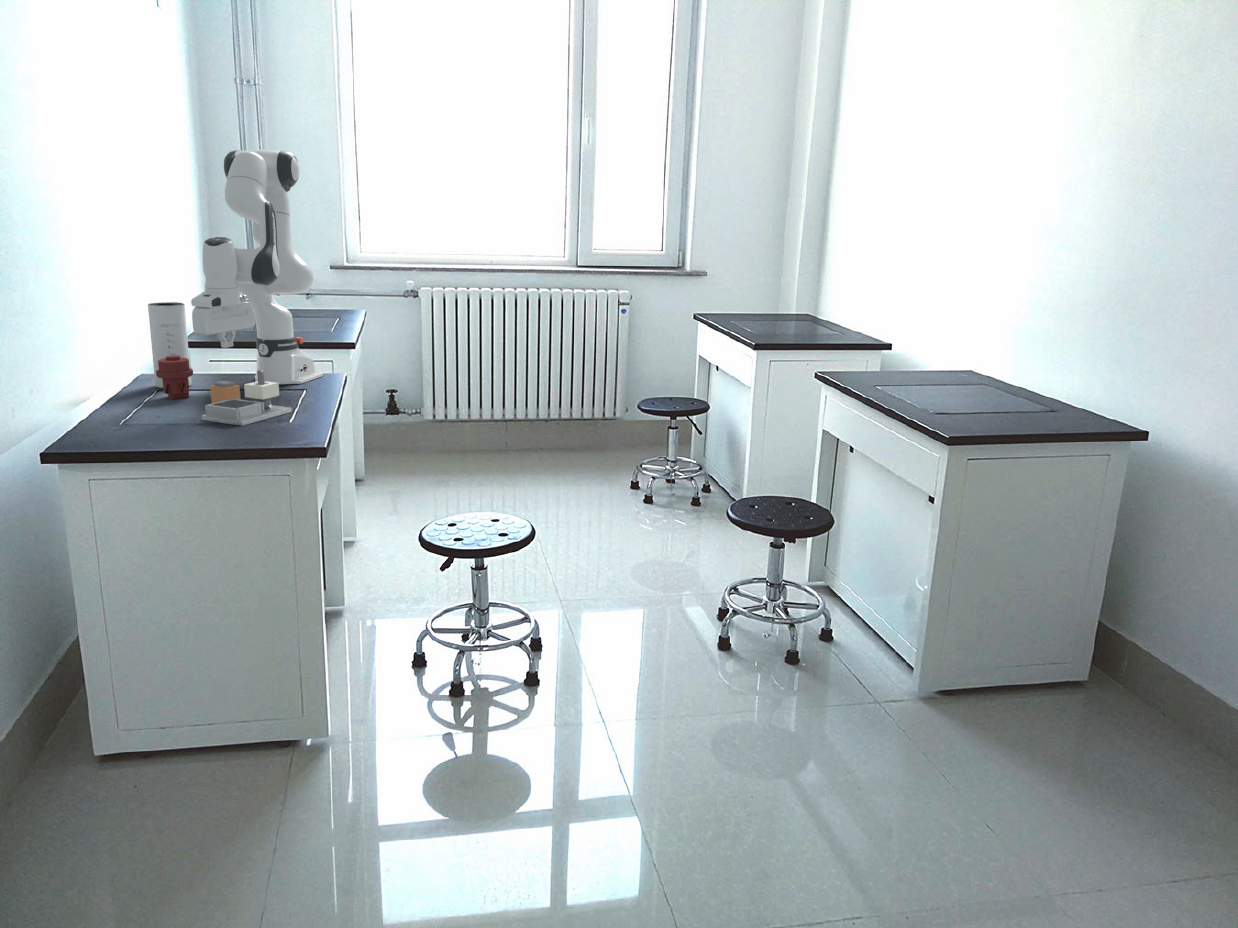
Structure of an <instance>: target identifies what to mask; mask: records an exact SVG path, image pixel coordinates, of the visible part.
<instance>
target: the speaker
mask: <svg viewBox="0 0 1238 928" xmlns="http://www.w3.org/2000/svg"><path fill="white" fill-rule="evenodd" d="M147 309H148V321H149V329H150V330H149V331H150V343H151V344H150V345H151V353H152V363H153V373H154V374H153V375H154V384H155V387H156V388H157V389H163V381H162V378H158V377H157V376H156V371H157V370H159V367H158V360H160V359H164V358H166V356H170V355H179V356H180V358H187V359H189V360H190V353H189V352H190V351H189V342H188V333H187V332H188V330H187V328H188V327H187V319H186V307H185V303H183V302H178V301H177V302H175V301H173V302H171V301H170V302H169V301H168V302H152V303H148V304H147ZM190 364H191V363H190V361H189V366H190V367H191V365H190ZM188 381H189V387H190V386H191V385H192V376H190V377H188Z"/></svg>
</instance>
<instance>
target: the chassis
mask: <svg viewBox="0 0 1238 928" xmlns="http://www.w3.org/2000/svg"><path fill="white" fill-rule="evenodd" d="M256 371H257V370H256ZM257 378H258V385H264V384H265V379H264V371H263V370H259V371H257ZM292 409H293V408H292V407H290V406H289V407H288V406H281V405H273V404H272V397H271V398H267V399H255V398H253V400H247V399H241V400H240V399H229V400H225V401H220V402H216V403H212V402H211V403H208V404H205V405H204V411H205V414H201V420H202V421H208V422H214V423H221V424H228V425H235V426H241V427H243V426H247V425H251V424H253V423H257V422H262V421H264V420H268V419H271V418H275V417H279V416H282V415H285V414H289V413H292V412H293V410H292Z"/></svg>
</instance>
